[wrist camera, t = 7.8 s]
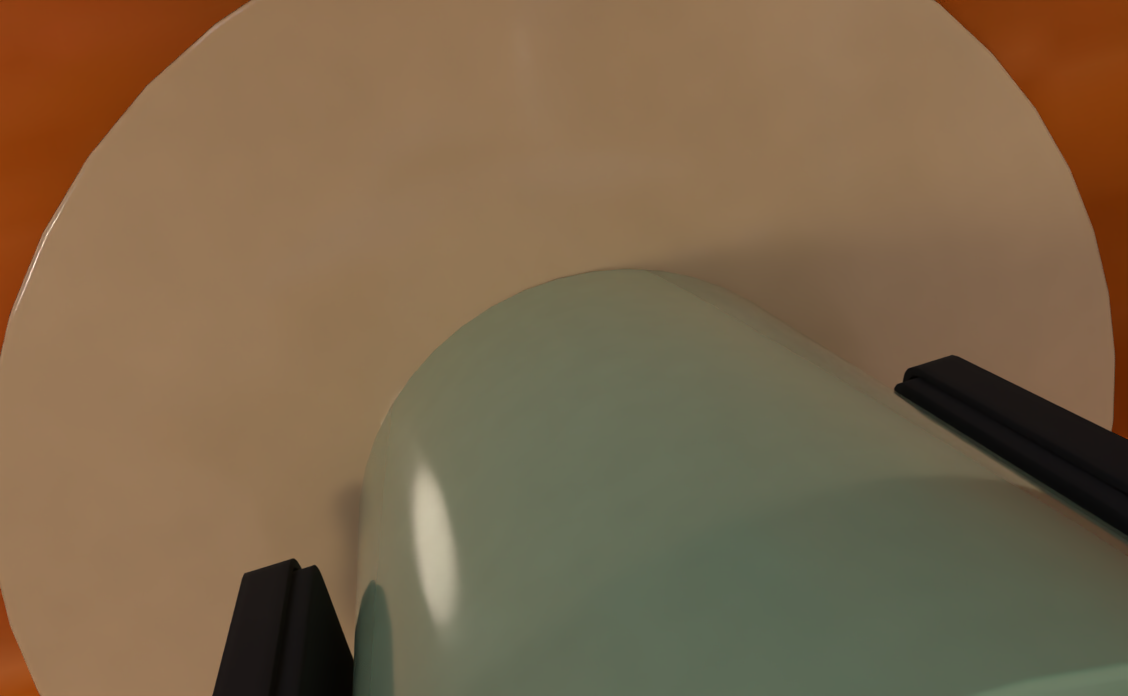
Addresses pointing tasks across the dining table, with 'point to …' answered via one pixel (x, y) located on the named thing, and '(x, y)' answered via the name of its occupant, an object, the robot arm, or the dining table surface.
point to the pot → (563, 359)
